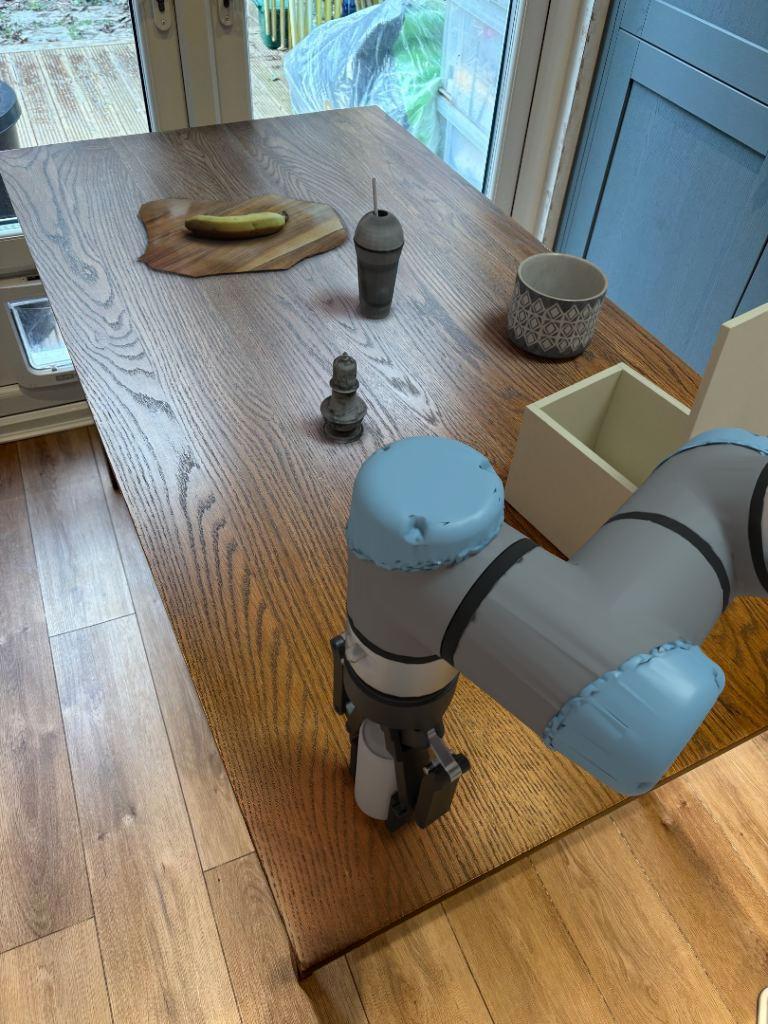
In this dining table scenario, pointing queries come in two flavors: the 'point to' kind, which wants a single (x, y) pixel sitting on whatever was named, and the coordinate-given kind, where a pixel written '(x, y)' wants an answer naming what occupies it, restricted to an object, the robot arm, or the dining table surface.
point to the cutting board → (236, 234)
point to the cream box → (590, 452)
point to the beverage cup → (377, 259)
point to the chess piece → (343, 403)
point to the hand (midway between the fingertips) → (382, 793)
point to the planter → (555, 304)
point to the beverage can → (374, 772)
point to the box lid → (734, 379)
